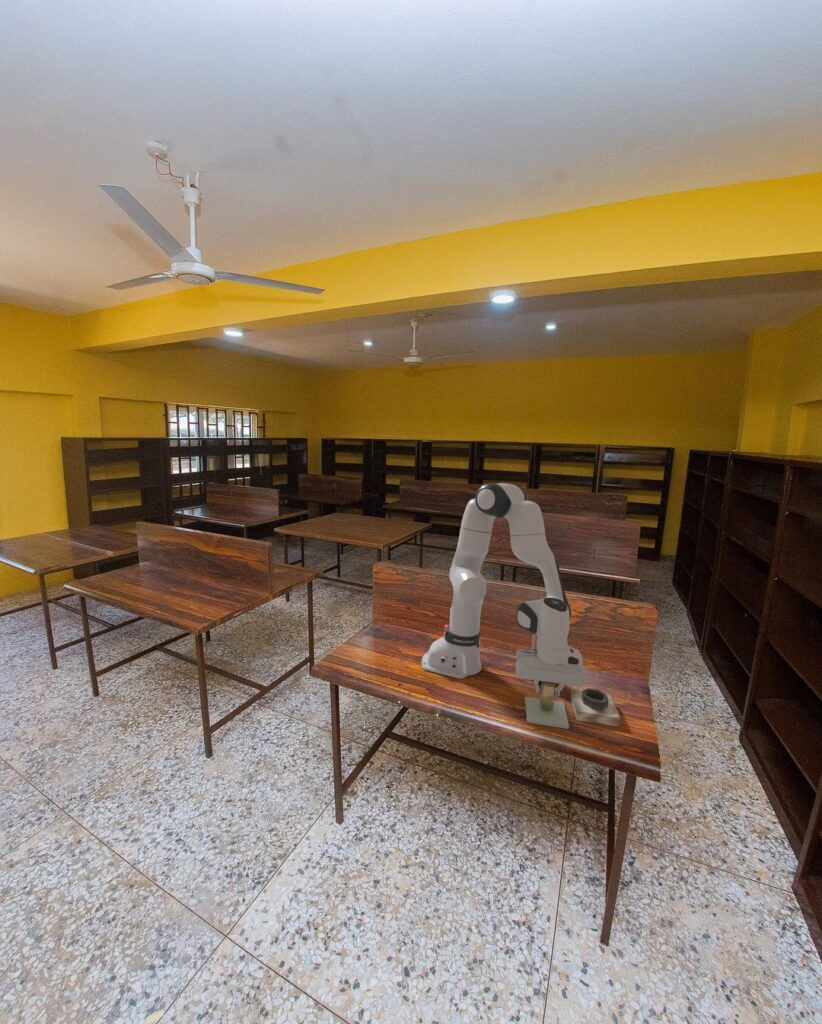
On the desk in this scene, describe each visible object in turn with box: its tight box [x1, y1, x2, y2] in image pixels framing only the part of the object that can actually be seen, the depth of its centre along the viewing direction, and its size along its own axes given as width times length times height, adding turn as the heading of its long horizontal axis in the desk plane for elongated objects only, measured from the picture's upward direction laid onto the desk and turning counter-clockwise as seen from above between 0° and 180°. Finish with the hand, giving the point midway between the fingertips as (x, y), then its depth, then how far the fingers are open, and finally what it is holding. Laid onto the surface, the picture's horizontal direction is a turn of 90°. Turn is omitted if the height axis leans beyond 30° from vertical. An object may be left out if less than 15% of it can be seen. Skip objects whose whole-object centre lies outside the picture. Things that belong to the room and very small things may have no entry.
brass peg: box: [539, 681, 557, 711], centre depth 129 cm, size 4×4×9 cm
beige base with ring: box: [570, 688, 621, 727], centre depth 132 cm, size 12×12×6 cm
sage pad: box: [524, 696, 570, 730], centre depth 130 cm, size 12×12×1 cm
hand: (547, 693), depth 129 cm, fingers closed on brass peg, 4 cm apart
